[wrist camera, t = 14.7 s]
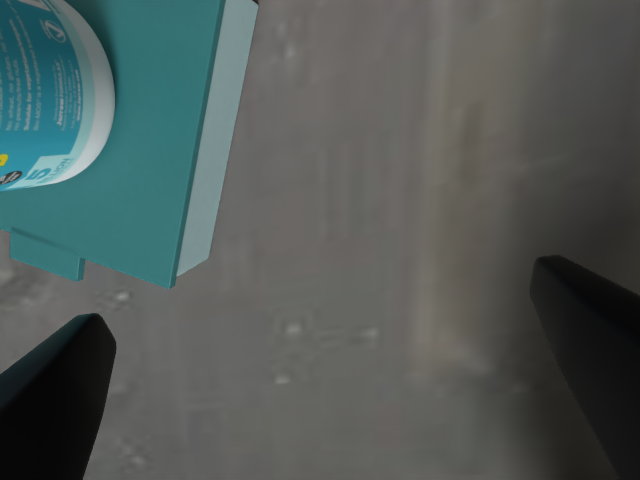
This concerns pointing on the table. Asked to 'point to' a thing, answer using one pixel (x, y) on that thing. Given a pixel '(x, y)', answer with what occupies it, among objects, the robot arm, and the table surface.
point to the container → (146, 145)
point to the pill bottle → (50, 93)
